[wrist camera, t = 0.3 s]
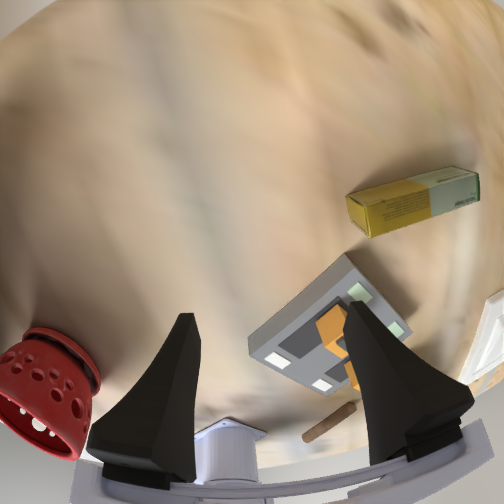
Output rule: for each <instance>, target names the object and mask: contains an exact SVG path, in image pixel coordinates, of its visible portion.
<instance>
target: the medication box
mask: <svg viewBox="0 0 504 504" xmlns="http://www.w3.org/2000/svg"><path fill="white" fill-rule="evenodd" d="M346 200H347V207H348V212H349V216H350V219H351V222H352V223H353V224H354V225H355V226H356V227H358V228H359V229H360V230H361V231H362V232H363V233H364V234H365V235H366V236H367V237H368V238H369V239H370V238H373V237H376V236H379V235H382V234H385V233H388V232H391V231H394V230H397V229H400V228H403V227H406V226H409V225H412V224H415V223H418V222H420V221H423V220H426V219H429V218H432V217H435V216H438V215H441V214H443V213H446V212H449V211H452V210H455V209H458V208H460V207H463V206H466V205H469V204H472V203H474V202H477V201H480V181H479V174H478V173H476V172H472V171H469V170H465V169H462V168H458V167H455V166H452V167H448V168H444V169H440V170H436V171H432V172H428V173H424V174H420V175H416V176H413V177H409V178H405V179H402V180H398V181H394V182H390V183H387V184H383V185H380V186H376V187H372V188H369V189H365V190H362V191H359V192H355V193H352V194H348V195H347V196H346Z"/></svg>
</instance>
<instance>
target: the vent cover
mask: <svg viewBox="0 0 504 504" xmlns="http://www.w3.org/2000/svg"><path fill="white" fill-rule="evenodd" d="M503 361H504V289H503V290H501V291H499V292H498V293H496V294H494V295H492V296H491V297H489V298H487V300H486V302H485V306H484V309H483V313H482V316H481V320H480V323H479V326H478V329H477V332H476V335H475V338H474V341H473V344H472V346H471V349H470V352H469V354H468V357H467V359H466V362H465V364H464V367H463V369H462V372H461V374H460V376H459V378H458V382H460V383H462V384H465V385H468V384H470V383H471V382H473V381H474V380H476V379H478V378H479V377H481V376H482V375H484V374H485V373H487V372H488V371H490V370H491V369H493V368H494V367H496V366H497V365H498V364H500V363H501V362H503Z"/></svg>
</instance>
